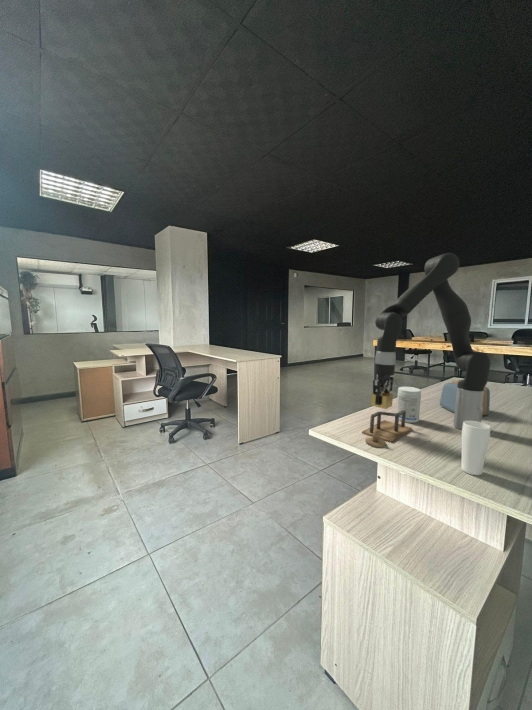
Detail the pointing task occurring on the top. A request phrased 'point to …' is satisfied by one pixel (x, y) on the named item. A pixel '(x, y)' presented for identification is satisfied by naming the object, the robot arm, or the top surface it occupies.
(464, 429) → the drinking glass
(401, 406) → the supplement tub
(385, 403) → the yellow open box
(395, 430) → the wire board
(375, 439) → the end peg
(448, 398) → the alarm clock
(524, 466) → the top surface
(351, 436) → the top surface
